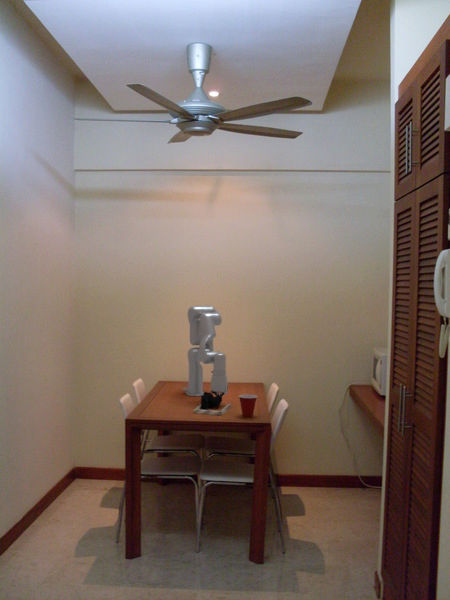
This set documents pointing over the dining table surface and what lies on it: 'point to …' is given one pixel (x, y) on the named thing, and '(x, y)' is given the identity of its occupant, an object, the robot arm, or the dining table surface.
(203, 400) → the film camera
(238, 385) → the dining table surface
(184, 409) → the dining table surface
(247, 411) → the plastic cup
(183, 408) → the dining table surface
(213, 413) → the camera rest
